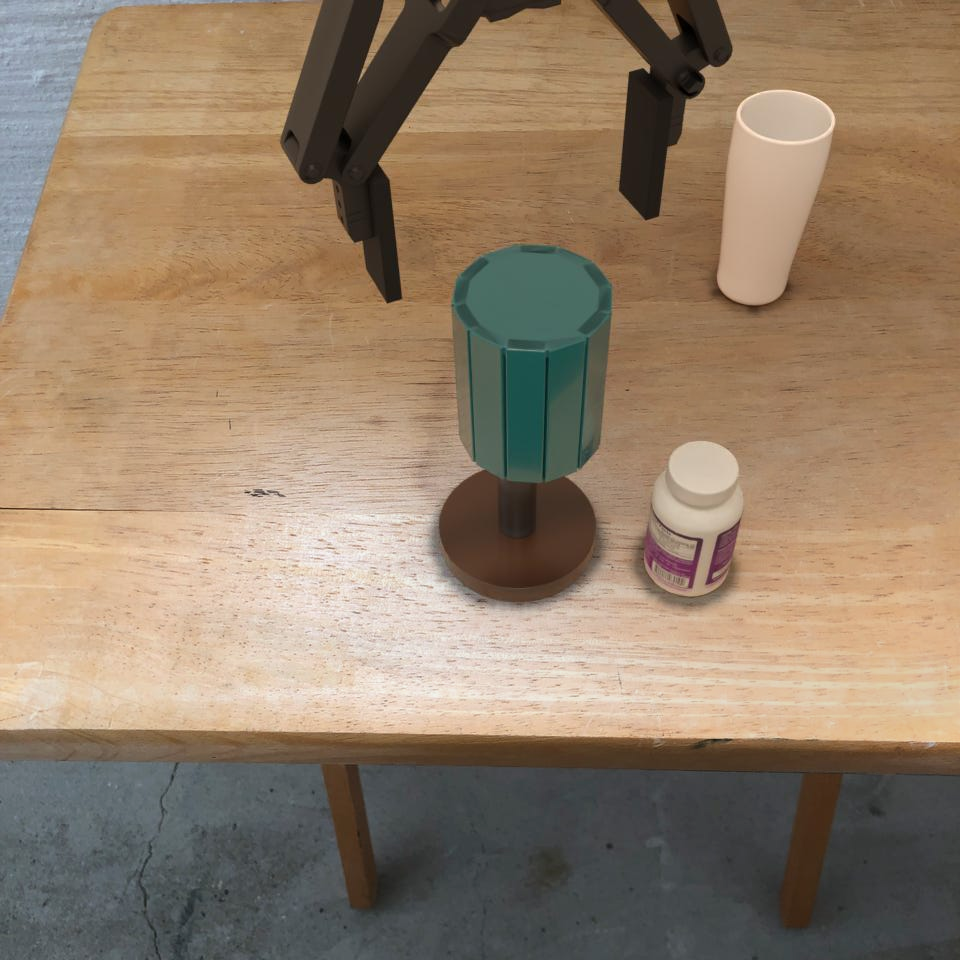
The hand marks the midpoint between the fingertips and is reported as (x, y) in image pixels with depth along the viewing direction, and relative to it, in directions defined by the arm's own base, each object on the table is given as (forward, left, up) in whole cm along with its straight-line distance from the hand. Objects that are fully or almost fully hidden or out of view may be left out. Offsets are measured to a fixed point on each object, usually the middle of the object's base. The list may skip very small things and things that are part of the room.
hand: (515, 243), depth 53 cm
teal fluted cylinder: (-1, -1, -13) cm, 13 cm away
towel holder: (0, 0, -24) cm, 24 cm away
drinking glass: (+14, -27, -24) cm, 39 cm away
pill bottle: (-7, -9, -24) cm, 26 cm away
